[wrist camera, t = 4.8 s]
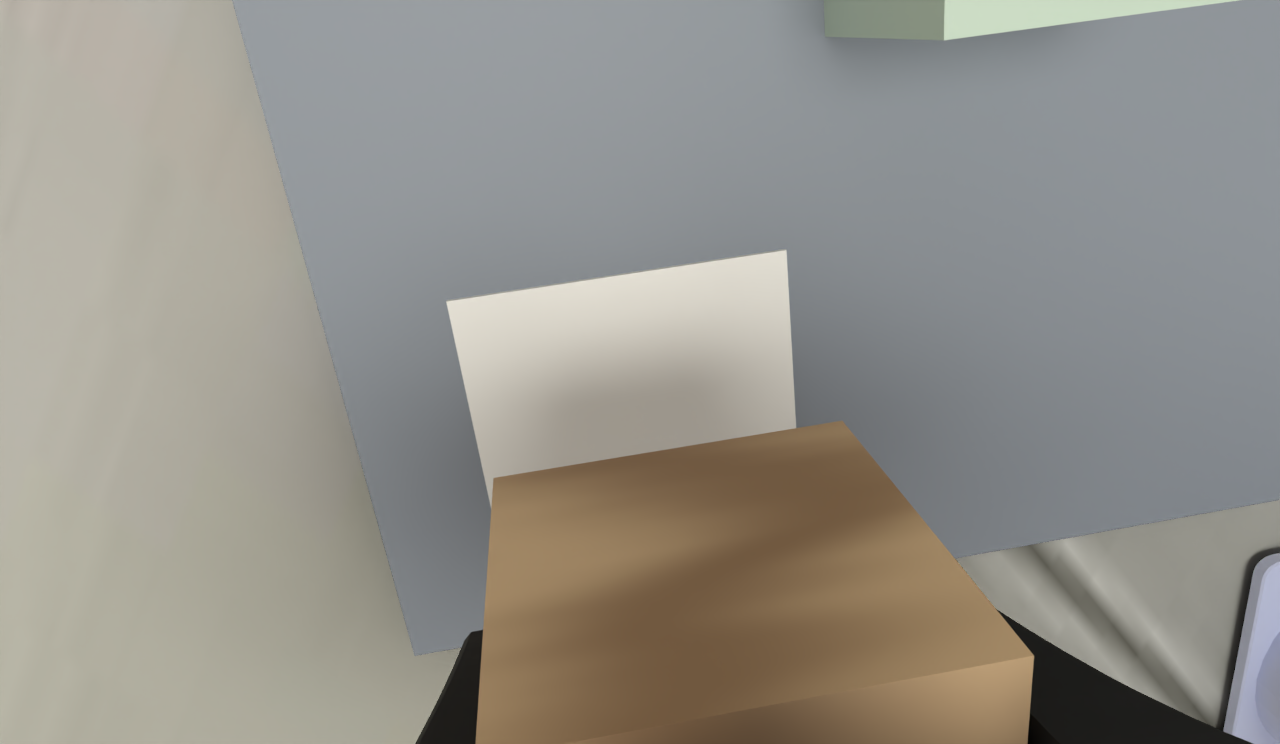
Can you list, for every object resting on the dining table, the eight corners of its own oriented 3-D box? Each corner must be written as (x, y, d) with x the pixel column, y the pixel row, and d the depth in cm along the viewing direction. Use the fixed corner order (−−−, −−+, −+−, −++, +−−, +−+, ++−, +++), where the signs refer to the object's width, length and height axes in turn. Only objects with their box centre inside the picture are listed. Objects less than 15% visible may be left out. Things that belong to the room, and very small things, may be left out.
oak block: (842, 420, 12) (1034, 656, 8) (850, 691, 14) (1007, 1010, 10) (493, 477, 12) (474, 760, 7) (549, 747, 14) (562, 1106, 9)
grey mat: (1418, -369, 16) (1457, -387, 15) (1260, 488, 22) (1282, 501, 22) (176, -240, 14) (159, -253, 13) (417, 639, 21) (414, 658, 20)
